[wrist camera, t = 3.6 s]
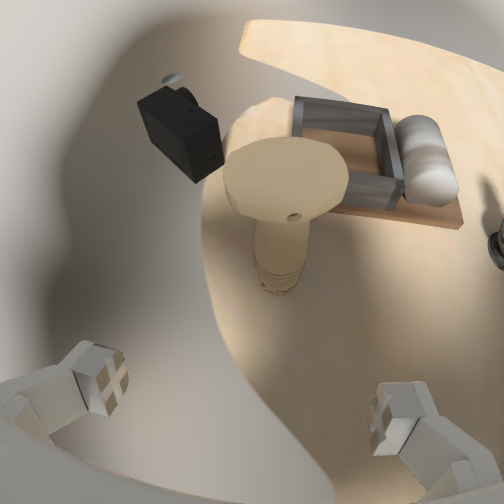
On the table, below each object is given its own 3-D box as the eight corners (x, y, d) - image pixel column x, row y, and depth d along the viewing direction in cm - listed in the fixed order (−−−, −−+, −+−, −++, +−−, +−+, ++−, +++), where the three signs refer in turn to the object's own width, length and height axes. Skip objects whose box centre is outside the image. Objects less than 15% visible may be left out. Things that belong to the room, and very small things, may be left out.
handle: (240, 260, 30) (220, 144, 17) (307, 252, 30) (333, 134, 17) (246, 309, 28) (226, 216, 15) (317, 300, 28) (359, 201, 15)
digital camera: (233, 159, 36) (228, 113, 30) (196, 185, 35) (183, 139, 29) (184, 121, 40) (174, 80, 34) (151, 142, 39) (136, 101, 32)
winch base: (457, 229, 31) (486, 195, 25) (286, 207, 33) (289, 163, 27) (438, 153, 36) (456, 117, 30) (292, 130, 38) (295, 87, 32)
